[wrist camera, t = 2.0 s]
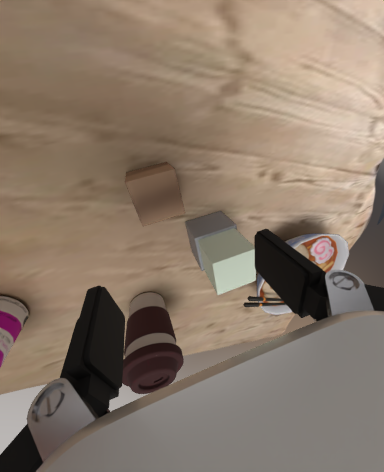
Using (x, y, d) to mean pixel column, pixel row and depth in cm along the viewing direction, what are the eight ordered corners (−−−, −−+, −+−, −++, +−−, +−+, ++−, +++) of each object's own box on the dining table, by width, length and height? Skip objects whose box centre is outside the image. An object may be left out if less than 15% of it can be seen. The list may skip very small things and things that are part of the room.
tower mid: (197, 239, 27) (212, 264, 22) (234, 227, 28) (256, 248, 23) (203, 268, 31) (217, 295, 26) (236, 257, 32) (255, 280, 27)
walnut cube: (126, 172, 25) (125, 182, 20) (166, 161, 26) (174, 168, 21) (140, 209, 29) (142, 226, 24) (176, 199, 30) (185, 213, 25)
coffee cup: (122, 289, 35) (117, 374, 23) (171, 284, 39) (190, 356, 26) (124, 321, 40) (120, 406, 28) (167, 314, 43) (182, 388, 31)
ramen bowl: (338, 229, 46) (374, 247, 39) (288, 294, 55) (310, 317, 48) (268, 205, 36) (301, 222, 29) (221, 289, 44) (237, 318, 38)
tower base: (184, 221, 32) (194, 238, 27) (220, 210, 33) (236, 224, 28) (192, 251, 36) (201, 271, 31) (223, 240, 37) (238, 257, 32)
